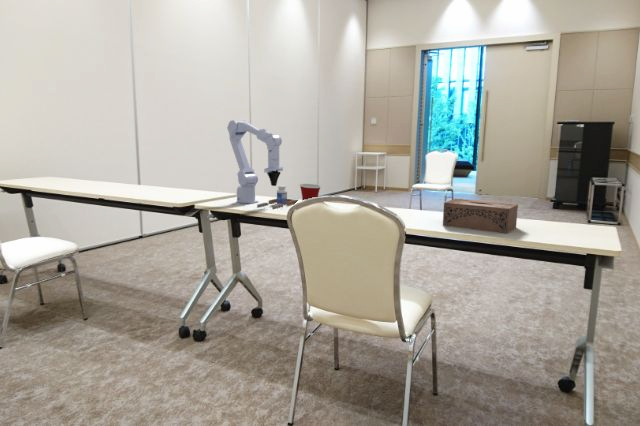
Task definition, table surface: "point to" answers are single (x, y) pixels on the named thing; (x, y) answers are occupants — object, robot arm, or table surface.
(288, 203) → the walnut trough
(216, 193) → the table surface
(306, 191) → the plastic cup
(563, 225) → the table surface
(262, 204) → the checker cradle
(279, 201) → the pill bottle
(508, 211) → the tissue box cover
